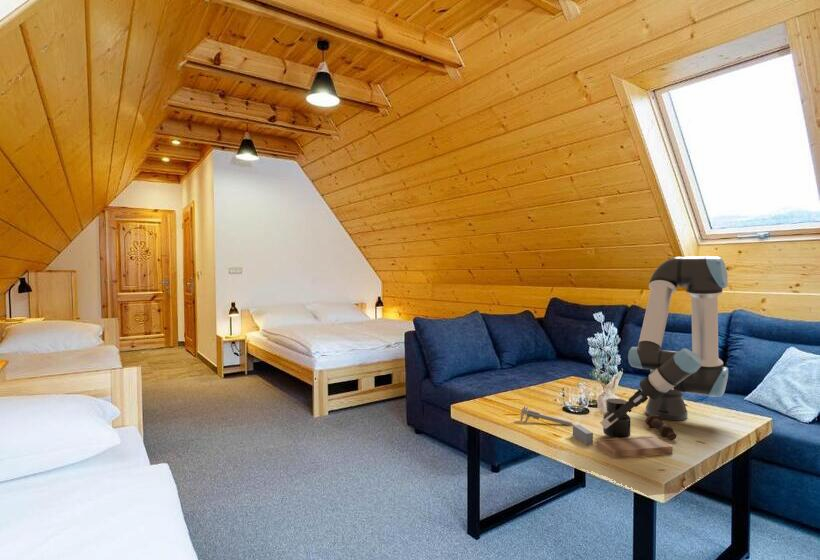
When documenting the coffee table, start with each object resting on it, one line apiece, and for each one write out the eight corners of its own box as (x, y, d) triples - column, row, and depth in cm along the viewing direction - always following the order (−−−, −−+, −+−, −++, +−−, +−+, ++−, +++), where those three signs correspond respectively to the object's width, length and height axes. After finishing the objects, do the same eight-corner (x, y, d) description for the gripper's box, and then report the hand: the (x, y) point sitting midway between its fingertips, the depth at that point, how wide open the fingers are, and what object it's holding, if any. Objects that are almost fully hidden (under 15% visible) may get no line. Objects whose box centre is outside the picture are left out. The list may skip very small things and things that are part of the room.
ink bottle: (631, 432, 171) (631, 399, 171) (632, 440, 163) (632, 405, 163) (602, 428, 175) (602, 396, 175) (601, 436, 167) (601, 402, 167)
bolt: (670, 447, 166) (650, 430, 181) (683, 440, 165) (662, 424, 180) (661, 432, 166) (643, 417, 181) (675, 425, 165) (655, 411, 180)
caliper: (520, 421, 188) (520, 406, 188) (520, 421, 189) (520, 405, 189) (575, 426, 182) (575, 410, 182) (575, 425, 183) (575, 409, 183)
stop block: (579, 435, 172) (579, 424, 172) (592, 444, 163) (592, 433, 163) (572, 436, 172) (572, 425, 172) (586, 445, 163) (586, 433, 163)
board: (651, 442, 165) (651, 435, 165) (672, 453, 155) (672, 446, 155) (596, 446, 161) (596, 439, 161) (613, 458, 151) (613, 450, 151)
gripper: (657, 400, 151) (605, 439, 161) (672, 387, 167) (623, 423, 178) (639, 381, 154) (589, 420, 164) (655, 370, 170) (609, 406, 181)
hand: (607, 422), depth 171 cm, fingers closed on ink bottle, 9 cm apart
